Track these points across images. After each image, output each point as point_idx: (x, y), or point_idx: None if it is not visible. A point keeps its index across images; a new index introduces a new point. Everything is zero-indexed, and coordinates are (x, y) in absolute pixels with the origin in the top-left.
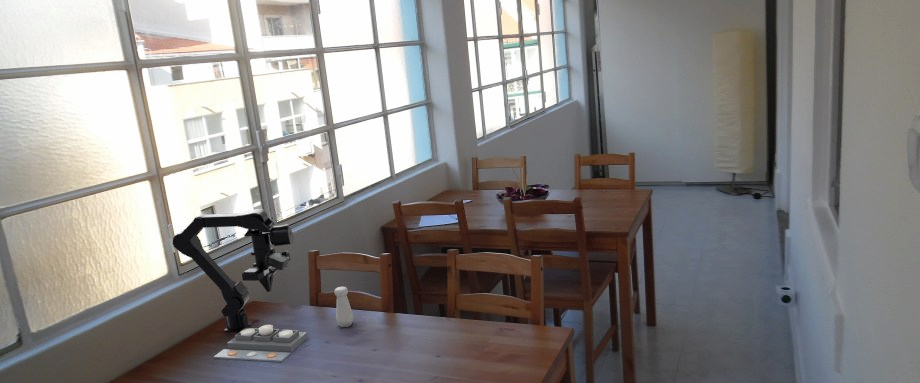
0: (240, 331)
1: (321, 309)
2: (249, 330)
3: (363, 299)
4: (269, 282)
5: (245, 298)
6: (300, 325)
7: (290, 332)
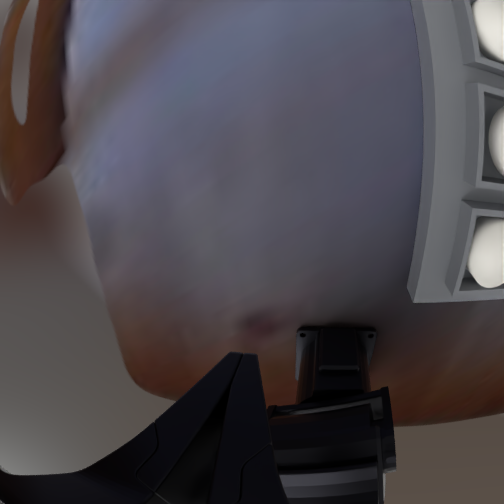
0: (485, 293)
1: (88, 99)
2: (493, 253)
3: (17, 29)
4: (237, 446)
5: (338, 436)
6: (271, 66)
7: (497, 4)
